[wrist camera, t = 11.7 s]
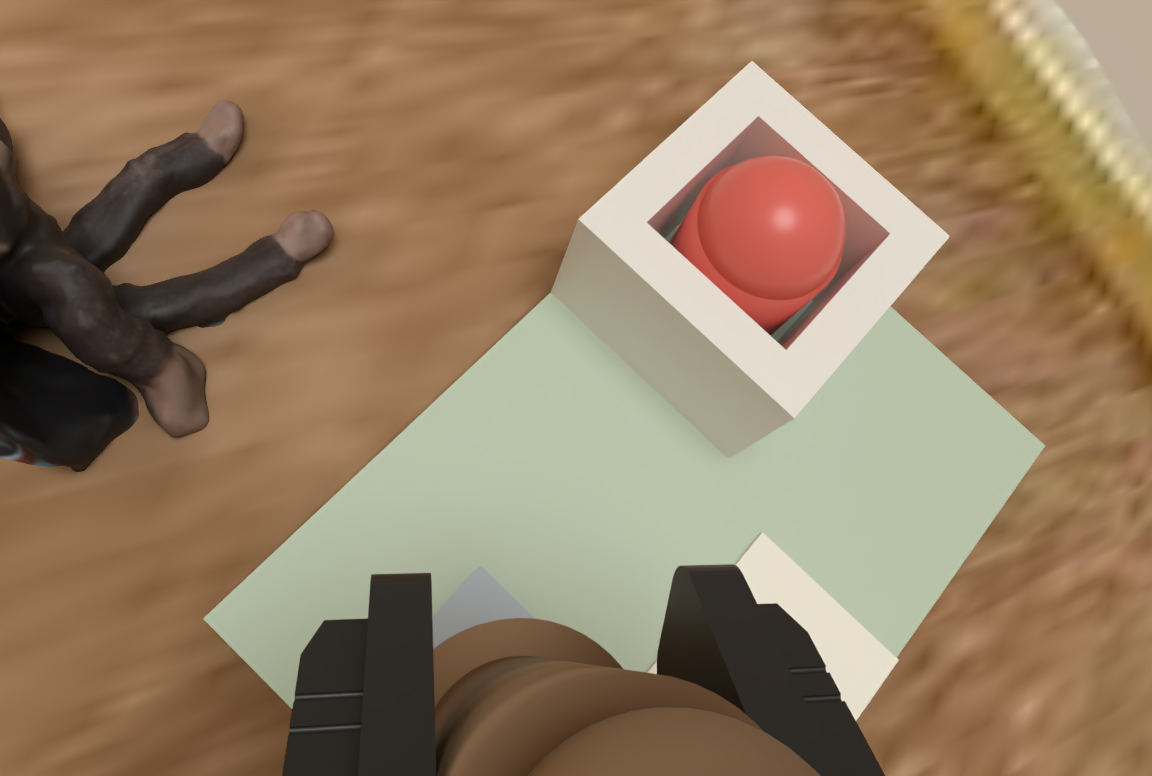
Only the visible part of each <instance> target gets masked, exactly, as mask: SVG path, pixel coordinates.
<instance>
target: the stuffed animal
mask: <svg viewBox="0 0 1152 776" xmlns="http://www.w3.org/2000/svg"><path fill="white" fill-rule="evenodd" d="M243 117H244V116H243V113H242V110H241V109H240V108H239V106H238V105H237V104H235V103H234V102H231V101H227V100H223V101H220V102H218V103H217V104H216V105H215V106H214V107H213V108H212V110H211V112H210V113H209V115H208V117H207V118H206V120H205V121H204V123H203V124H202V127H201V129H200V130H199V131H197V132H196V133H184V134H182V135H181V136H179V137H177V138H176V139H175V140H173V141H170V142H168V143H166V144H164V145H162V146H158V147H154V148H151V149H149V150H148V151H146V152H145V153H143V154H142V155H141V156H139V157H138V158H136V159H133V160H130V161H128V162H127V164H126V166H125V167H124V168H123V170H122V171H121V172H120V173H119V174H118V175H117V176H116V177H115V178H113V179H112V180H111V181H110V182H109V183H108V184H107V185H106V186H105V187H104V188H103V190H102V191H101V192H100V194H99V195H98V196H97V197H96V198H94V199H93V200H92V201H91V202H89V203H88V204H86V205H85V206H84V207H82V208H81V209H80V210H79V211H78V212H77V213H76V214H75V215H74V216H73V217H72V219H71V221H70V223H69V225H68V227H67V228H66V229H65V230H64V231H63V232H62V230H61V228H60V227H59V225H58V223H57V221H56V219H55V218H54V217H53V216H51V215H49V214H47V213H46V212H45V211H44V210H43V209H41V208H40V207H39V206H38V205H37V204H36V203H34V202H33V201H32V200H31V199H30V198H29V197H28V195H27V194H26V193H25V192H24V191H22V190H21V189H20V188H19V186H18V181H17V173H18V162H17V160H16V158H15V157H14V155H13V145H12V140H11V136H10V133H9V131H8V129H7V127H6V126H5V124H4V123H3V121H2V120H1V119H0V457H2V458H6V459H10V460H14V461H18V462H22V463H27V464H32V465H38V466H61V465H65V466H70V467H71V468H72V470H73V471H75V472H81V471H84V470H85V469H86V468H87V467H88V466H89V465H90V464H91V462H92V461H93V460H94V459H95V458H96V457H97V456H98V455H99V454H100V453H101V452H102V450H103V449H104V448H105V447H106V446H107V445H108V444H109V443H110V442H111V441H112V440H113V439H115V438H116V437H118V436H119V435H121V434H123V433H124V432H125V431H127V430H128V429H129V428H130V427H131V426H132V425H133V424H134V423H135V422H136V420H137V419H138V416H139V410H138V401H137V398H136V396H135V394H134V393H133V392H132V391H131V390H129V389H128V388H127V387H125V386H124V385H123V384H121V383H119V382H118V381H116V380H115V379H113V378H110V377H106V376H101V375H99V374H96V373H94V372H92V371H90V370H89V369H87V368H86V367H84V366H83V365H81V364H79V363H77V362H74V361H72V360H70V359H68V358H65V357H63V356H60V355H57V354H54V353H51V352H48V351H46V350H44V349H42V348H40V347H37V346H34V345H31V344H26V343H22V342H19V341H18V340H17V339H16V337H15V336H16V334H17V333H19V332H20V331H21V330H22V329H23V328H25V327H26V326H27V325H32V326H38V327H50V328H51V330H52V331H53V332H54V334H55V335H56V336H57V337H58V338H59V339H60V340H61V341H62V342H63V343H64V344H65V345H66V346H67V348H68V349H69V350H70V351H71V352H72V353H73V355H74V356H75V357H77V358H78V359H79V360H81V361H82V362H83V363H85V364H86V365H89V366H91V367H93V368H94V369H95V370H97V371H99V372H103V373H109V374H111V375H115V376H118V377H121V378H123V379H125V380H127V381H129V382H131V383H132V384H133V385H134V386H135V387H136V388H137V389H138V390H139V391H140V393H141V394H142V396H143V398H144V400H145V403H146V406H147V409H148V411H149V412H150V414H151V416H152V417H153V418H154V420H155V421H156V422H157V423H158V424H159V425H160V426H161V427H162V428H163V429H164V430H165V431H166V432H167V433H168V434H169V435H171V436H172V437H179V436H182V435H185V434H190V433H194V432H197V431H200V430H202V429H203V428H204V427H206V426H207V424H208V422H209V412H208V407H207V402H206V397H205V380H206V371H205V368H204V365H203V363H202V362H201V360H200V359H199V358H198V357H197V356H196V355H195V354H193V353H192V352H191V351H189V350H188V349H186V348H184V347H183V346H180V345H178V344H175V343H173V342H172V341H170V339H169V338H168V337H167V336H166V335H165V332H169V331H173V330H176V329H179V328H184V327H193V326H199V327H202V328H204V327H215V326H218V325H221V324H222V323H223V322H224V321H225V319H226V317H227V316H228V315H229V314H231V313H232V312H234V311H236V310H238V309H239V308H241V307H243V306H245V305H246V304H248V303H250V302H252V301H253V300H255V299H257V298H259V297H261V296H263V295H264V294H266V293H268V292H270V291H271V290H273V289H275V288H277V287H278V286H280V285H282V284H284V283H286V282H288V281H290V280H292V279H294V278H295V277H296V276H297V275H298V274H299V272H300V270H301V268H302V266H303V264H304V263H305V262H307V261H308V260H309V259H311V258H312V257H313V256H315V255H317V254H318V253H320V252H321V251H323V250H324V249H325V248H326V247H327V245H328V244H329V242H330V241H331V240H332V238H333V236H334V230H333V227H332V225H331V223H330V221H329V219H328V218H327V217H326V216H325V215H324V214H323V213H321V212H318V211H314V210H313V211H310V212H305V211H304V212H295V213H292V214H291V215H289V216H288V217H286V219H285V220H284V222H283V223H282V225H281V227H280V229H279V231H278V232H277V233H276V234H274V235H271V236H266V237H263V238H261V239H259V240H257V241H256V242H254V243H253V244H251V245H250V246H249V247H248V248H247V249H246V250H245V251H244V252H242V253H241V254H239V255H236V256H234V257H232V258H230V259H228V260H226V261H224V262H221V263H220V264H218V265H216V266H214V267H212V268H209V269H206V270H203V271H201V272H198V273H194V274H190V275H184V276H179V277H176V278H172V279H169V280H166V281H162V282H159V283H155V284H152V285H147V286H135V285H132V284H130V283H123V284H121V285H118V286H114V285H112V284H111V282H110V280H109V279H108V278H107V277H106V275H105V274H104V271H105V270H106V269H107V268H108V267H109V266H110V265H112V264H113V263H115V262H116V261H118V260H119V259H121V258H122V257H123V256H124V255H125V253H126V252H127V250H128V249H129V247H130V245H131V244H132V243H133V242H134V240H135V239H136V238H137V236H138V235H139V233H140V231H141V228H142V226H143V224H144V222H145V220H146V219H147V217H148V216H149V215H151V214H152V213H153V212H155V211H156V210H158V209H159V208H160V207H161V206H162V205H163V204H164V203H166V202H167V201H168V200H170V199H171V198H173V197H174V196H176V195H178V194H179V193H181V192H184V191H187V190H190V189H194V188H197V187H200V186H202V185H204V184H206V183H207V182H209V181H210V180H211V179H213V178H214V176H215V175H216V174H217V173H218V172H219V171H220V170H221V168H222V167H223V166H225V165H226V164H227V163H228V162H229V160H230V159H231V157H232V155H233V154H234V153H235V151H236V150H237V148H238V146H239V144H240V141H241V138H242V134H243Z"/></svg>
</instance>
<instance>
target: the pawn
mask: <svg viewBox="0 0 1152 776" xmlns="http://www.w3.org/2000/svg"><path fill="white" fill-rule="evenodd" d="M433 660H434V700H435V739H436V776H820V775H819V773H818V772H817V771H815V770H814V769H813V768H812V767H811V766H810V765H809V764H808V763H806V762H805V761H804V760H803V759H802V758H801V757H799V756H798V755H797V754H796V753H795V752H794V751H792V750H791V749H790V748H789V747H787V746H786V745H784V744H783V743H781V742H780V741H778V740H777V739H775V738H774V737H772V736H771V735H769V734H767V733H765V732H764V731H763V730H762V729H761V728H760V727H759V726H758V725H757V724H756V723H755V722H754V721H753V720H752V719H751V718H749V717H748V716H747V715H746V714H745V713H744V712H742V711H741V710H740V709H739V708H738V707H736V706H735V705H733V704H732V703H730V702H728V701H727V700H725V699H724V698H722V697H721V696H719V695H718V694H716V693H714V692H712V691H709V690H707V689H705V688H703V687H701V686H699V685H697V684H694V683H691V682H688V681H685V680H681V679H678V678H675V677H671V676H665V675H659V674H653V673H646V672H639V671H632V670H625V669H623V668H622V666H621V665H620V664H619V663H618V662H617V661H616V660H615V659H614V658H613V656H612V655H611V654H610V653H608V652H607V651H606V650H605V649H604V648H603V647H601V646H600V645H599V644H598V643H597V642H595V641H593V640H592V639H590V638H589V637H587V636H586V635H584V634H583V633H580V632H578V631H576V630H574V629H572V628H570V627H568V626H565V625H561V624H558V623H555V622H552V621H546V620H541V619H535V618H512V619H502V620H496V621H491V622H487V623H483V624H479V625H476V626H473V627H471V628H468V629H466V630H463V631H461V632H459V633H457V634H456V635H454V636H452V637H450V638H448V639H447V640H445V641H444V642H443V643H441V644H440V645H438V646H437V647H436V648H434V649H433Z"/></svg>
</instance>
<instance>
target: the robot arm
mask: <svg viewBox="0 0 1152 776" xmlns="http://www.w3.org/2000/svg"><path fill="white" fill-rule="evenodd" d="M657 674H659V675H665V676H671V677H675V678H678V679H681V680H685V681H688V682H691V683H694V684H697V685H699V686H701V687H703V688H705V689H707V690H709V691H712V692H714V693H716V694H718V695H719V696H721V697H722V698H724V699H725V700H727V701H728V702H730V703H732V704H733V705H735V706H736V707H738V708H739V709H740V710H741V711H742V712H744V713H745V714H746V715H747V716H748V717H749V718H751V719H752V720H753V721H754V722H755V723H756V724H757V725H758V726H759V727H760V728H761V729H762V730H763V731H764V732H765V733H767V734H769V735H771V736H772V737H774V738H775V739H777V740H778V741H780V742H781V743H783V744H784V745H786V746H787V747H789V748H790V749H791V750H792V751H794V752H795V753H796V754H797V755H798V756H799V757H801V758H802V759H803V760H804V761H805V762H806V763H808V764H809V765H810V766H811V767H812V768H813V769H814V770H815V771H817V772H818V773H819V775H820V776H885V775H884V773H883V771H882V769H881V767H880V765H879V763H878V762H877V760H876V758H875V756H874V754H873V752H872V750H871V749H870V747H869V745H868V743H867V741H866V739H865V737H864V736H863V734H862V732H861V730H860V728H859V726H858V724H857V723H856V721H855V719H854V717H853V715H852V713H851V711H850V710H849V708H848V706H847V704H846V702H845V701H842V700H841V693H840V691H839V689H838V687H837V685H836V684H835V682H834V680H833V678H832V676H831V674H830V673H827V672H826V665H825V663H824V661H823V659H822V658H821V656H820V654H819V652H818V650H817V648H816V646H815V645H814V643H813V641H812V639H811V637H810V635H809V633H808V632H807V631H806V630H805V629H804V628H803V627H802V626H801V625H800V624H799V623H798V622H797V621H795V620H794V619H793V618H792V617H791V616H790V615H789V614H788V613H787V612H786V611H785V610H784V609H783V608H782V607H780V606H779V605H778V604H777V603H772V604H757V602H756V600H755V598H754V596H753V594H752V592H751V590H750V588H749V586H748V584H747V582H746V580H745V578H744V575H743V574H742V572H741V570H740V569H739V568H738V567H737V566H736V565H734V564H723V565H684V566H679V567H677V569H676V570H675V573H674V575H673V579H672V584H671V589H670V594H669V599H668V603H667V608H666V613H665V618H664V623H663V627H662V632H661V637H660V642H659V647H658V653H657ZM282 776H436V739H435V700H434V660H433V621H432V582H431V573H400V574H371V580H370V595H369V611H368V619H341V620H324V621H323V623H322V624H321V626H320V627H319V628H318V630H317V631H316V633H315V634H314V636H313V637H312V639H311V640H310V641H309V643H308V644H307V646H306V647H305V649H304V650H303V652H302V653H301V655H300V662H299V668H298V675H297V682H296V688H295V699H294V702H293V708H292V715H291V721H290V733H289V735H288V741H287V748H286V754H285V761H284V767H283V774H282Z"/></svg>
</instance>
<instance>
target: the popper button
mask: <svg viewBox="0 0 1152 776" xmlns="http://www.w3.org/2000/svg"><path fill="white" fill-rule="evenodd" d="M845 235H846V222H845V215H844V210H843V207H842V204H841V201H840V199H839V197H838V194H837V192H836V191H835V189H834V188H833V186H832V185H831V184H830V182H829V181H828V180H827V179H826V178H825V177H824V176H823V175H822V174H821V173H820V172H818V171H817V170H816V169H814V168H813V167H811V166H810V165H808V164H806V163H804V162H802V161H799V160H796V159H793V158H789V157H783V156H761V157H755V158H751V159H748V160H745V161H743V162H740V163H738V164H735V165H732V166H730V167H727V168H725V169H723V170H722V171H720V172H718V173H717V174H716V175H715V176H713V177H712V178H711V179H710V180H709V181H708V182H707V184H706V185H705V186H704V188H703V189H702V191H701V192H700V194H699V196H698V197H697V199H696V200H695V202H694V204H693V205H692V207H691V208H690V210H689V212H688V213H687V215H686V216H685V218H684V220H683V221H682V223H681V224H680V226H679V228H678V229H677V231H676V233H675V234H674V236H673V237H672V239H671V241H670V242H669V243H670V244H671V245H672V246H673V247H674V248H675V249H676V250H677V251H678V252H680V253H681V254H682V255H683V256H684V257H685V258H686V259H687V260H688V261H689V262H690V263H692V264H693V265H694V266H695V267H696V268H697V269H698V270H699V271H700V272H701V273H702V274H704V275H705V276H706V277H707V278H708V279H709V280H710V281H711V282H712V283H713V284H715V285H716V286H717V287H718V288H719V289H720V290H721V291H722V292H723V293H724V294H725V295H727V296H728V297H729V298H730V299H731V300H732V301H733V302H734V303H735V304H736V305H737V306H739V307H740V308H741V309H742V310H743V311H744V312H745V313H746V314H747V315H748V316H749V317H751V318H752V319H753V320H754V321H755V322H756V323H757V324H758V325H759V326H760V327H761V328H763V329H764V330H765V331H766V332H767V333H768V334H769V335H770V336H771V335H772V334H773V333H774V332H775V331H777V330H778V329H779V328H780V327H781V326H782V325H783V324H784V323H786V322H787V321H788V320H789V319H790V318H791V317H792V316H794V315H795V314H796V313H797V312H798V311H799V310H800V309H801V308H803V307H804V306H805V305H806V304H807V303H808V302H809V301H810V300H812V299H813V298H814V297H815V296H816V295H817V294H818V293H819V292H821V291H822V290H823V289H824V288H825V287H826V286H827V285H828V284H829V283H830V281H831V280H832V279H833V277H834V276H835V274H836V272H837V270H838V268H839V265H840V262H841V258H842V253H843V247H844V243H845Z"/></svg>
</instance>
